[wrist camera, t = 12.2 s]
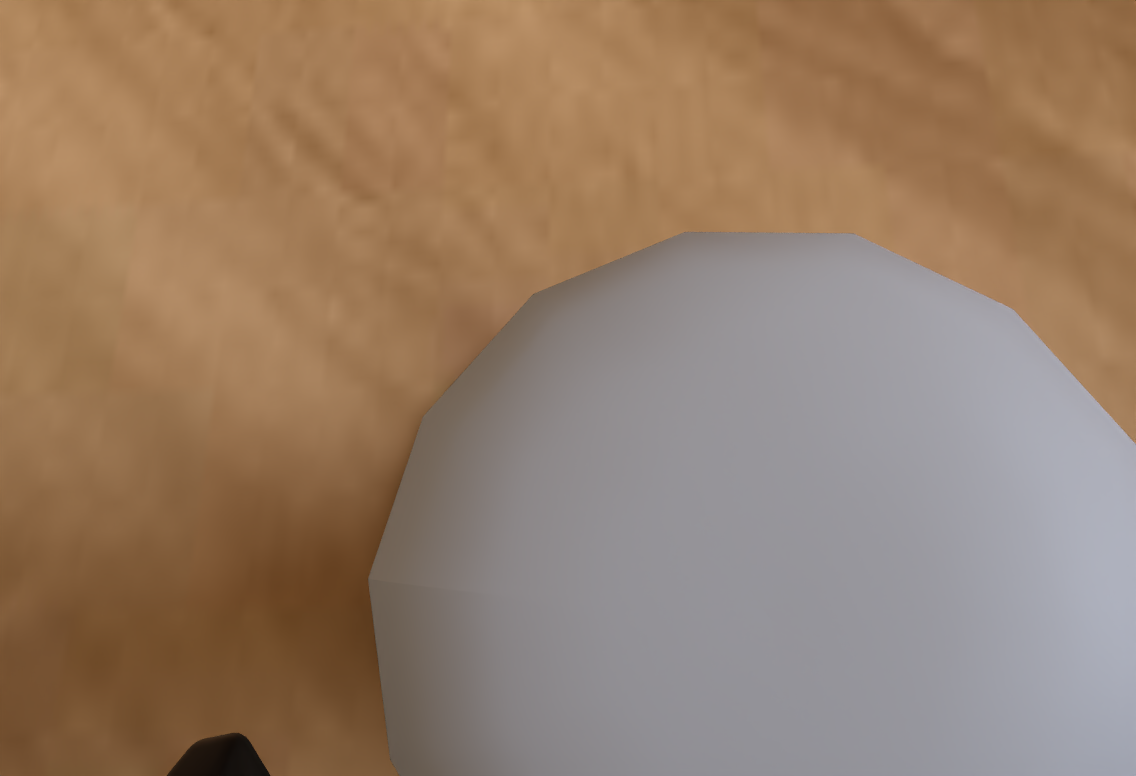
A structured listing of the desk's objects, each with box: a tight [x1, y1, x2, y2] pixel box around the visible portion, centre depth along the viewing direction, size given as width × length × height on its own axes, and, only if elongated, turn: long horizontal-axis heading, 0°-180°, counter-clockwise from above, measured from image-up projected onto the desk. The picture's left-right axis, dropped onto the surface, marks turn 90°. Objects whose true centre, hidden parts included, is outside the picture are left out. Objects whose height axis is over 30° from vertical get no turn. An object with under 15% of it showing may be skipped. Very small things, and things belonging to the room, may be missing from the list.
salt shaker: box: [368, 232, 1136, 776], centre depth 11 cm, size 6×6×13 cm
